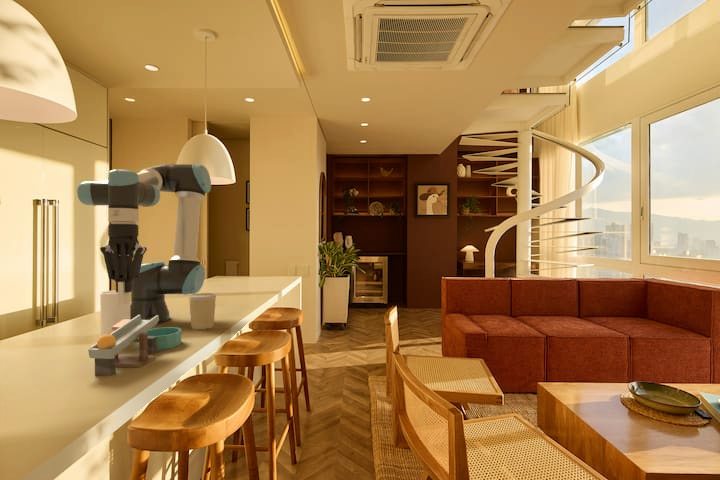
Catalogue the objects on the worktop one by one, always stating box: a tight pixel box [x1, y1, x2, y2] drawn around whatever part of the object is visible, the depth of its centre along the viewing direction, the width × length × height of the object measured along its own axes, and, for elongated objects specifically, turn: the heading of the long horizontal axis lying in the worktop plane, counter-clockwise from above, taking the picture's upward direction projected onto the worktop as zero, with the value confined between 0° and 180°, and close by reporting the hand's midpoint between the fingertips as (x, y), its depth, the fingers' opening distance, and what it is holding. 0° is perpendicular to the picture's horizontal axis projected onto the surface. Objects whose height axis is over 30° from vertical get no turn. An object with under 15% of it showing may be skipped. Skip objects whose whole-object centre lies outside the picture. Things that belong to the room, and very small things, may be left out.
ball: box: [96, 334, 116, 349], centre depth 95 cm, size 4×4×4 cm
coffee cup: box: [188, 292, 217, 330], centre depth 140 cm, size 9×9×12 cm
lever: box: [87, 315, 159, 359], centre depth 102 cm, size 20×11×4 cm, turn 176°
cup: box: [99, 289, 131, 337], centre depth 123 cm, size 8×8×16 cm
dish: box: [146, 326, 182, 351], centre depth 118 cm, size 11×11×4 cm
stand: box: [94, 333, 157, 377], centre depth 103 cm, size 19×11×8 cm, turn 176°
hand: (123, 303), depth 110 cm, fingers closed
